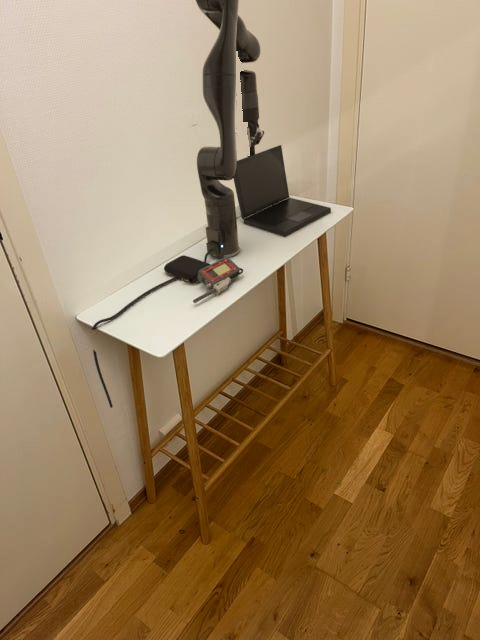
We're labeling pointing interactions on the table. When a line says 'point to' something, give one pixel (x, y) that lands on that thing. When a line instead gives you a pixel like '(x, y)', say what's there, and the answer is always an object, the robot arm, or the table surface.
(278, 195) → the laptop screen
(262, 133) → the robot arm
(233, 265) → the grey red handheld meter
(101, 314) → the table surface
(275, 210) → the laptop
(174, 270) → the carrying case
